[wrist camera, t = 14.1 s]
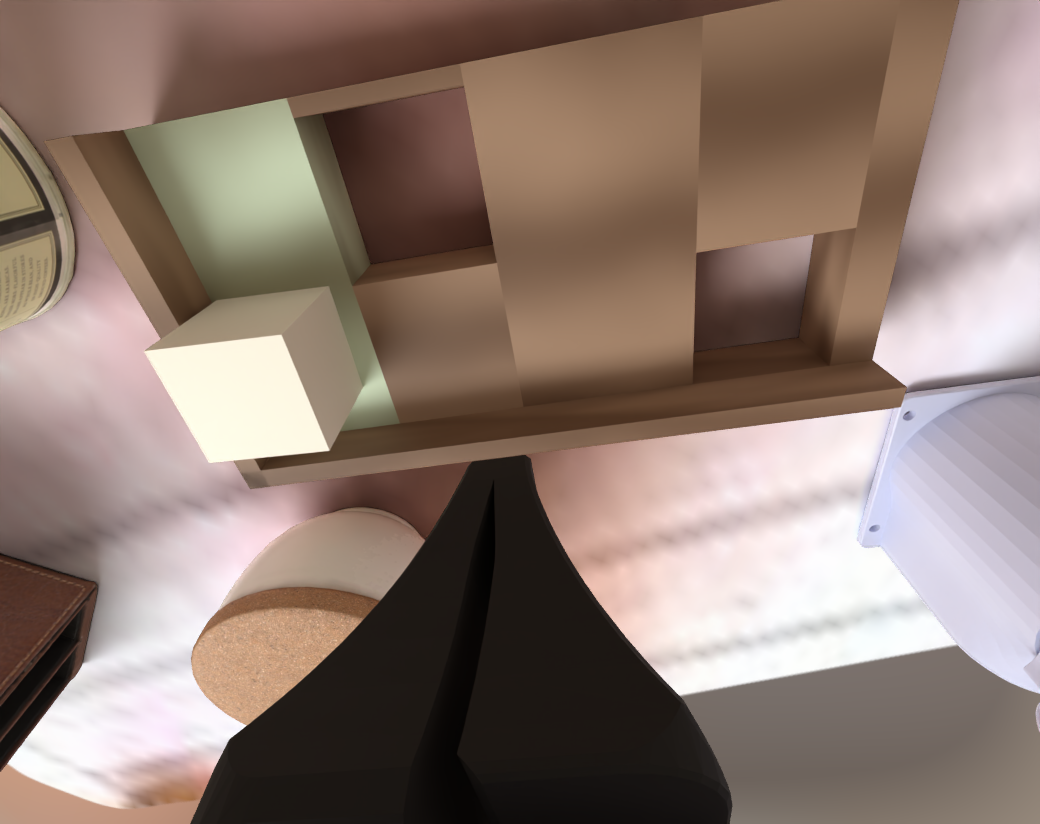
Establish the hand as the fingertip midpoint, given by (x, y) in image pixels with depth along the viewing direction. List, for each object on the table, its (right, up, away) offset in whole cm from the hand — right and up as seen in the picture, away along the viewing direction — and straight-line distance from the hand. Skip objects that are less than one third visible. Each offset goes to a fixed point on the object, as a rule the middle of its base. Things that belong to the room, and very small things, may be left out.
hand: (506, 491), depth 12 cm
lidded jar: (-8, -5, +16) cm, 19 cm away
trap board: (+1, +8, +7) cm, 11 cm away
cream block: (-8, +4, +7) cm, 11 cm away
